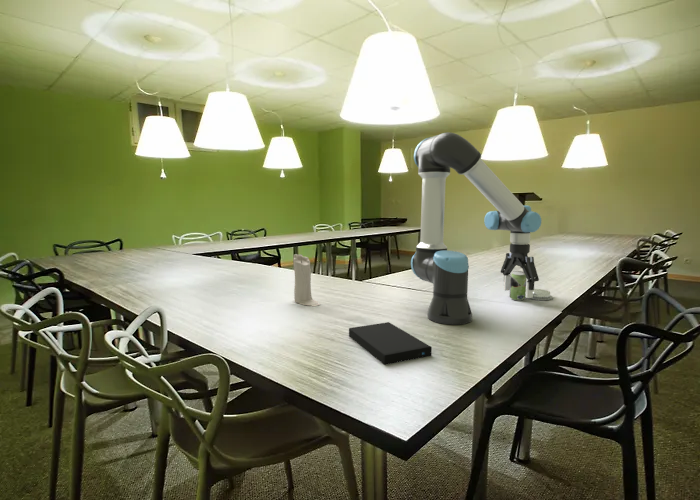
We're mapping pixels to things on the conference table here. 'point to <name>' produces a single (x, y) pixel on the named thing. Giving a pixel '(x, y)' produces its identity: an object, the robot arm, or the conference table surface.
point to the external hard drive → (389, 343)
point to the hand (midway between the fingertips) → (517, 293)
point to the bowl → (540, 295)
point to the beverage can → (517, 285)
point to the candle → (303, 281)
